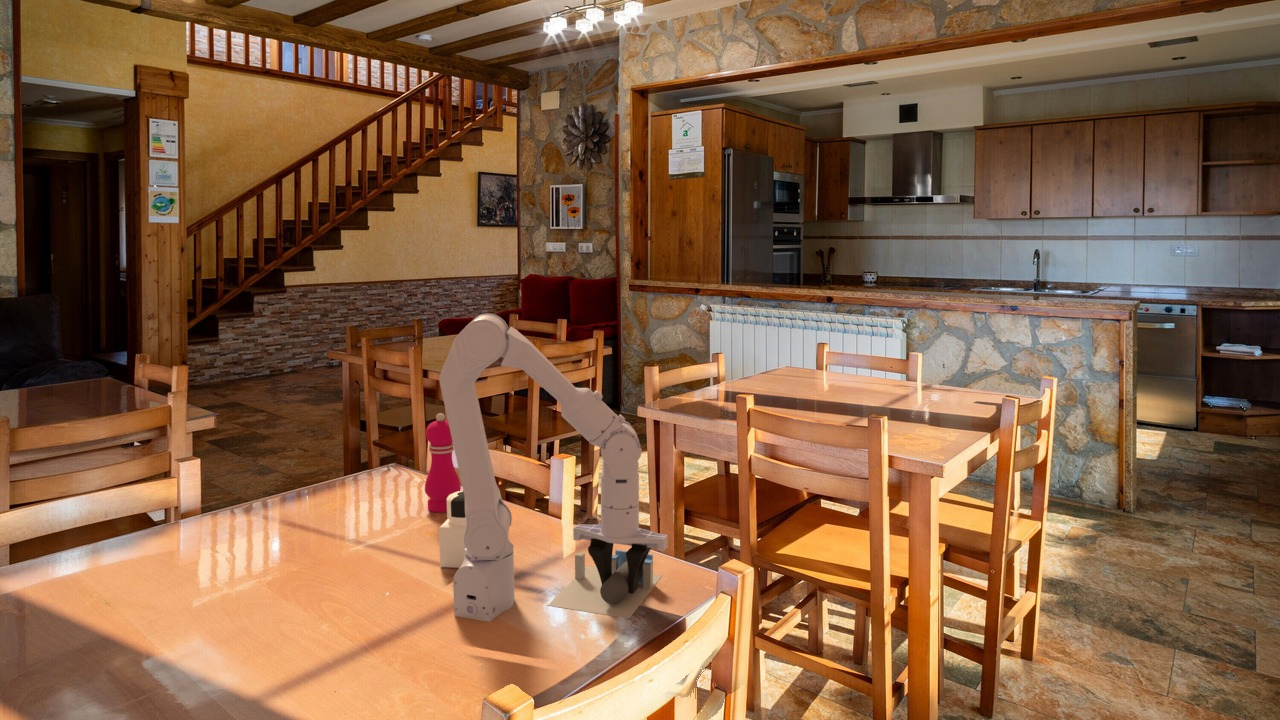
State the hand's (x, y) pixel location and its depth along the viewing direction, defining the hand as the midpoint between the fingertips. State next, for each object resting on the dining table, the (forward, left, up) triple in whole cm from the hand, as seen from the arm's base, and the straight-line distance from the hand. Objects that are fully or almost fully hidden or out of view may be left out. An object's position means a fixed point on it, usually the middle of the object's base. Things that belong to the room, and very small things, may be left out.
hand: (619, 589), depth 126 cm
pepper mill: (+30, +50, -2) cm, 58 cm away
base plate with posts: (+2, +3, -2) cm, 4 cm away
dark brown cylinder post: (+1, 0, -1) cm, 1 cm away
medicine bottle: (+7, +31, -2) cm, 32 cm away
